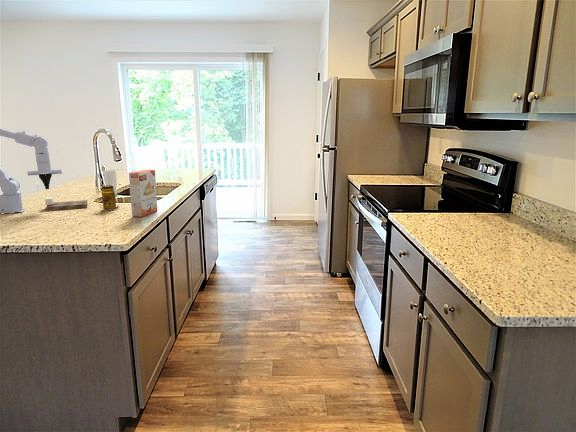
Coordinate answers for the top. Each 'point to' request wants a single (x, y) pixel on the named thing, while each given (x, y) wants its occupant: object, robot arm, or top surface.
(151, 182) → the cracker box
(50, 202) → the fader tab
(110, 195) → the condiment
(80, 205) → the fader board
